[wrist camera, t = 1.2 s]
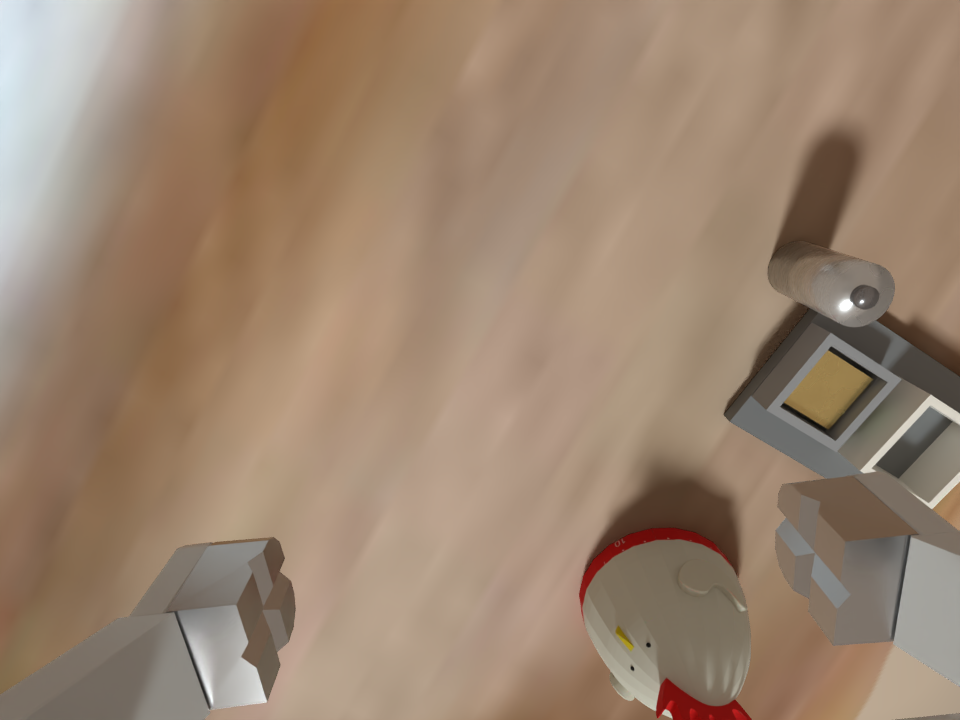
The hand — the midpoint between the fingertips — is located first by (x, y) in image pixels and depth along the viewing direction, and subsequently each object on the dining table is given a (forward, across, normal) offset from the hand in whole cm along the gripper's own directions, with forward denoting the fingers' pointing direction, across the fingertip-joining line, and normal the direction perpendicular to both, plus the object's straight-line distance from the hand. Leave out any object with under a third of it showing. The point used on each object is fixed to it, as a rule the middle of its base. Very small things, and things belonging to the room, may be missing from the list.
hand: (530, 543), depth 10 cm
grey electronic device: (+35, -28, +17) cm, 48 cm away
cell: (+35, -22, +5) cm, 42 cm away
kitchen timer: (+36, -12, +34) cm, 51 cm away
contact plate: (+33, -24, +14) cm, 43 cm away
